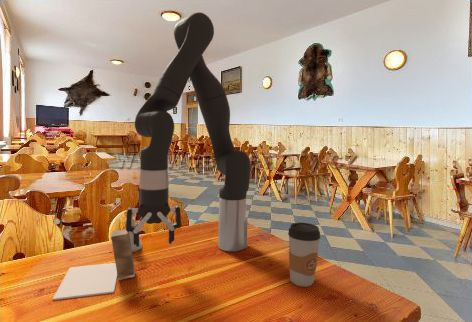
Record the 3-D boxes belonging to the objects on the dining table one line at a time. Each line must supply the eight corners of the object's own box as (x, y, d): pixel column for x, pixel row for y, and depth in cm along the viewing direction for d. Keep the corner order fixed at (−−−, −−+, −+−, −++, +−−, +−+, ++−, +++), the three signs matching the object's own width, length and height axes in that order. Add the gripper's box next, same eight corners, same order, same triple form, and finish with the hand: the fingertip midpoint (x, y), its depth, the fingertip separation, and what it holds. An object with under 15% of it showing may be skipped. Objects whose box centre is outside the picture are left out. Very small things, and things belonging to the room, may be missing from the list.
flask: (145, 245, 101) (145, 216, 100) (136, 253, 94) (136, 223, 93) (125, 243, 102) (124, 215, 101) (114, 252, 95) (114, 222, 94)
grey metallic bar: (134, 269, 82) (128, 228, 81) (134, 276, 79) (127, 233, 77) (119, 273, 81) (112, 231, 80) (118, 280, 78) (111, 236, 76)
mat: (119, 263, 87) (119, 262, 87) (113, 292, 72) (113, 291, 72) (70, 268, 83) (70, 267, 83) (52, 300, 68) (52, 298, 68)
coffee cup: (299, 292, 74) (302, 234, 73) (279, 277, 81) (282, 224, 80) (324, 285, 78) (327, 229, 76) (303, 271, 85) (306, 220, 84)
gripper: (179, 182, 85) (179, 237, 87) (126, 184, 81) (127, 241, 83) (182, 187, 78) (182, 247, 80) (124, 189, 74) (125, 252, 75)
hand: (154, 244), depth 81 cm, fingers open, 8 cm apart
